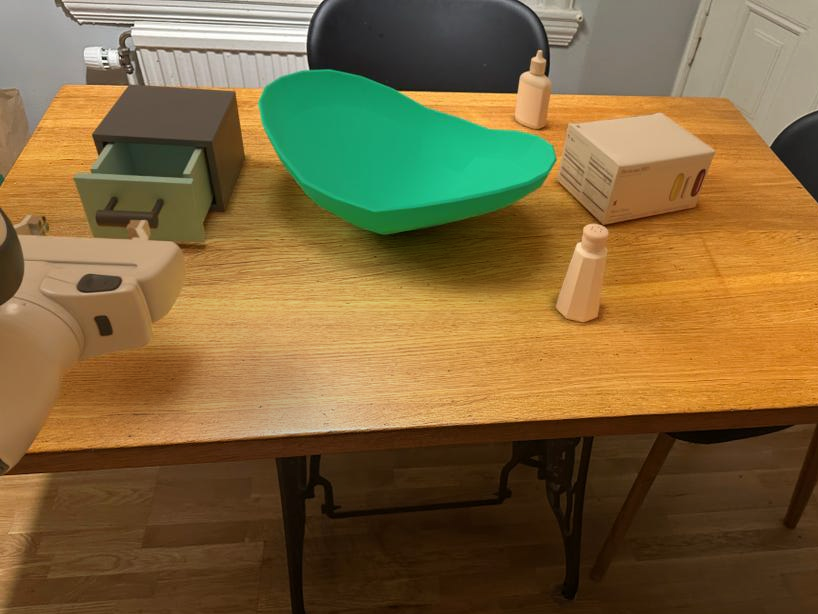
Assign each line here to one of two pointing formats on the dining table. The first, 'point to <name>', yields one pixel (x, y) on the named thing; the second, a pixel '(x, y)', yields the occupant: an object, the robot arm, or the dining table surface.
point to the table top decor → (394, 153)
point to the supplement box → (633, 166)
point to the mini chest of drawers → (181, 128)
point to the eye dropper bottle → (533, 95)
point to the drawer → (148, 191)
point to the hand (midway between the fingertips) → (90, 223)
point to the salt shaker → (585, 276)
